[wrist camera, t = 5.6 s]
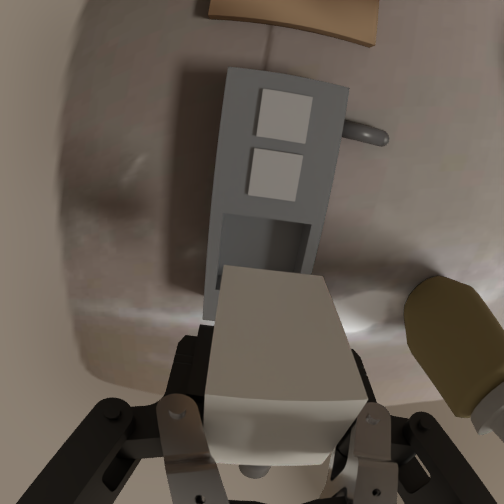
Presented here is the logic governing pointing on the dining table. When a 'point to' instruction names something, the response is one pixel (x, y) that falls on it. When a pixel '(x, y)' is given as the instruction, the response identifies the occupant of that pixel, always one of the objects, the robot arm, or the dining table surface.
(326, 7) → the walnut board
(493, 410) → the squeeze bottle
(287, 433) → the block
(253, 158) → the power strip
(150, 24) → the dining table surface
